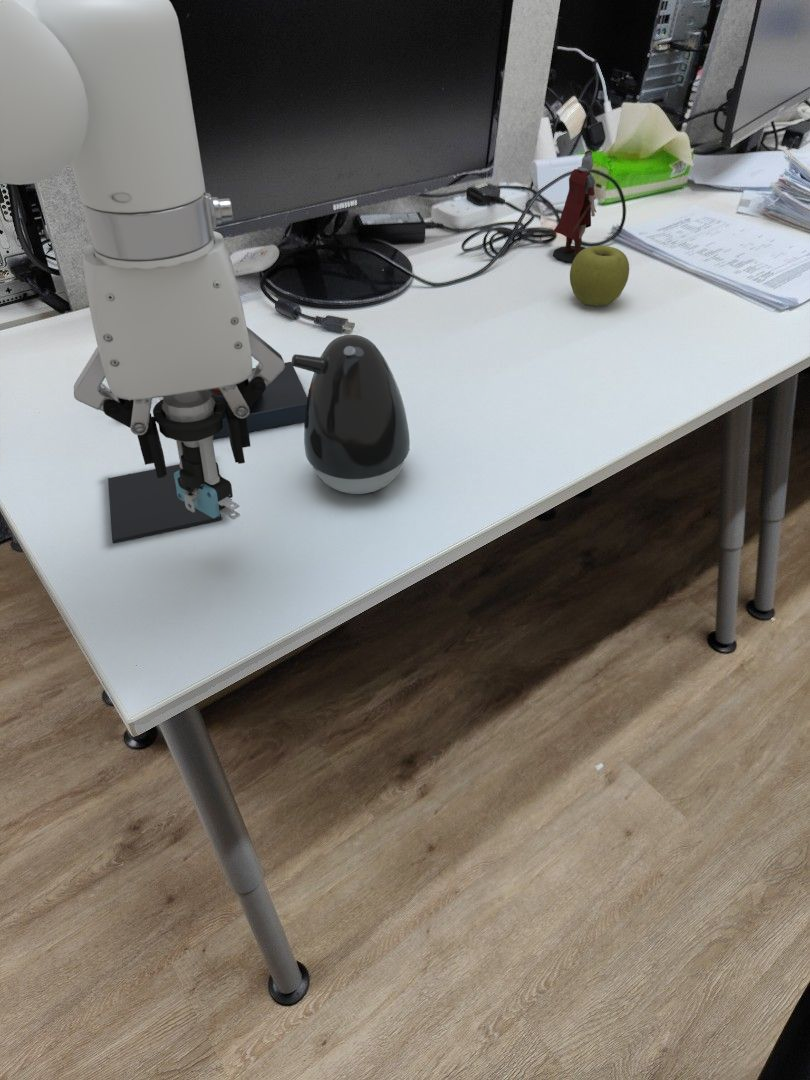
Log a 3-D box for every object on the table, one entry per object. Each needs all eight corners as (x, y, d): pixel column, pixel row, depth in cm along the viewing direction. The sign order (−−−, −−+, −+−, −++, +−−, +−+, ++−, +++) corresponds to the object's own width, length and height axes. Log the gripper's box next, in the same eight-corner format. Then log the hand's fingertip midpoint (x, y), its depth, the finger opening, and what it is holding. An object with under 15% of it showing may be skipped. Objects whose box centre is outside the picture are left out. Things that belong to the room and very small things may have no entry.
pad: (113, 543, 70) (111, 540, 70) (109, 481, 77) (107, 478, 77) (222, 519, 72) (221, 516, 72) (208, 461, 79) (207, 458, 79)
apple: (601, 319, 102) (609, 267, 97) (554, 301, 106) (560, 250, 102) (634, 302, 106) (644, 251, 101) (588, 285, 110) (595, 235, 105)
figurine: (605, 258, 118) (621, 152, 108) (567, 268, 115) (580, 161, 105) (577, 244, 122) (591, 142, 112) (540, 253, 120) (551, 149, 110)
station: (203, 441, 82) (196, 409, 80) (193, 395, 89) (185, 364, 87) (312, 420, 85) (308, 388, 82) (293, 377, 92) (289, 347, 89)
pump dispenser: (297, 459, 79) (279, 322, 69) (393, 441, 81) (388, 305, 71) (319, 519, 72) (301, 375, 62) (423, 497, 74) (423, 355, 64)
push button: (261, 508, 63) (250, 400, 57) (212, 538, 60) (194, 428, 54) (207, 478, 66) (191, 373, 60) (157, 506, 63) (135, 398, 57)
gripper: (273, 195, 53) (296, 419, 65) (9, 220, 49) (85, 454, 61) (295, 230, 48) (316, 467, 60) (1, 261, 44) (86, 510, 55)
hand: (199, 459), depth 60 cm, fingers closed on push button, 5 cm apart
